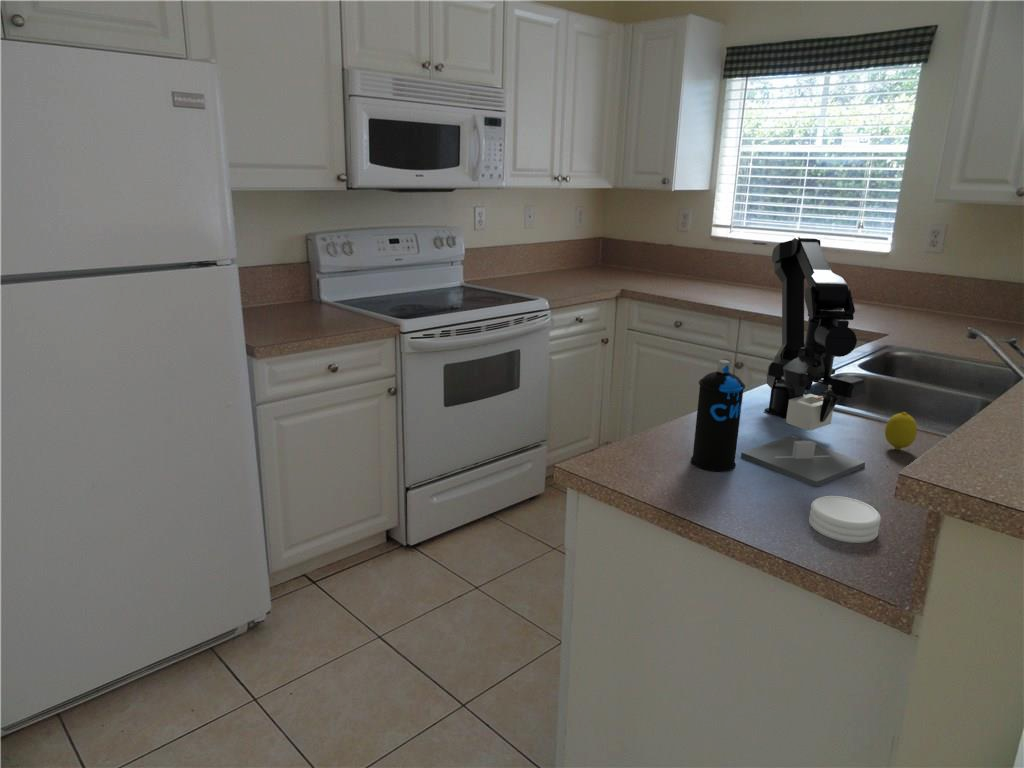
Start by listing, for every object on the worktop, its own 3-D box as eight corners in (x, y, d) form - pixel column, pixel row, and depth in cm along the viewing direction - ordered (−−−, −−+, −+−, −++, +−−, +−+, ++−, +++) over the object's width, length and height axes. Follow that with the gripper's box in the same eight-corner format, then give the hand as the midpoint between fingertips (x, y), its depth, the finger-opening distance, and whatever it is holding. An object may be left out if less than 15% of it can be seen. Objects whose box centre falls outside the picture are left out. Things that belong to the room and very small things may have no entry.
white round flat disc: (843, 549, 108) (847, 528, 107) (794, 520, 117) (797, 500, 116) (892, 537, 112) (896, 517, 111) (840, 509, 121) (844, 490, 120)
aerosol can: (681, 458, 140) (691, 357, 134) (716, 452, 143) (727, 353, 137) (709, 474, 132) (720, 369, 126) (744, 468, 136) (758, 365, 130)
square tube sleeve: (785, 422, 150) (789, 398, 149) (807, 416, 154) (810, 392, 153) (809, 430, 146) (813, 406, 144) (830, 423, 150) (834, 399, 149)
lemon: (903, 444, 149) (910, 407, 147) (918, 455, 144) (926, 417, 141) (876, 444, 149) (883, 407, 146) (891, 455, 143) (898, 416, 141)
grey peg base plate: (740, 457, 141) (743, 437, 140) (790, 440, 150) (792, 422, 149) (815, 486, 128) (819, 466, 127) (864, 466, 137) (868, 447, 136)
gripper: (755, 339, 148) (746, 411, 152) (841, 360, 133) (828, 439, 138) (788, 332, 154) (778, 402, 159) (873, 351, 140) (860, 428, 144)
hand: (809, 417), depth 150 cm, fingers closed on square tube sleeve, 5 cm apart
